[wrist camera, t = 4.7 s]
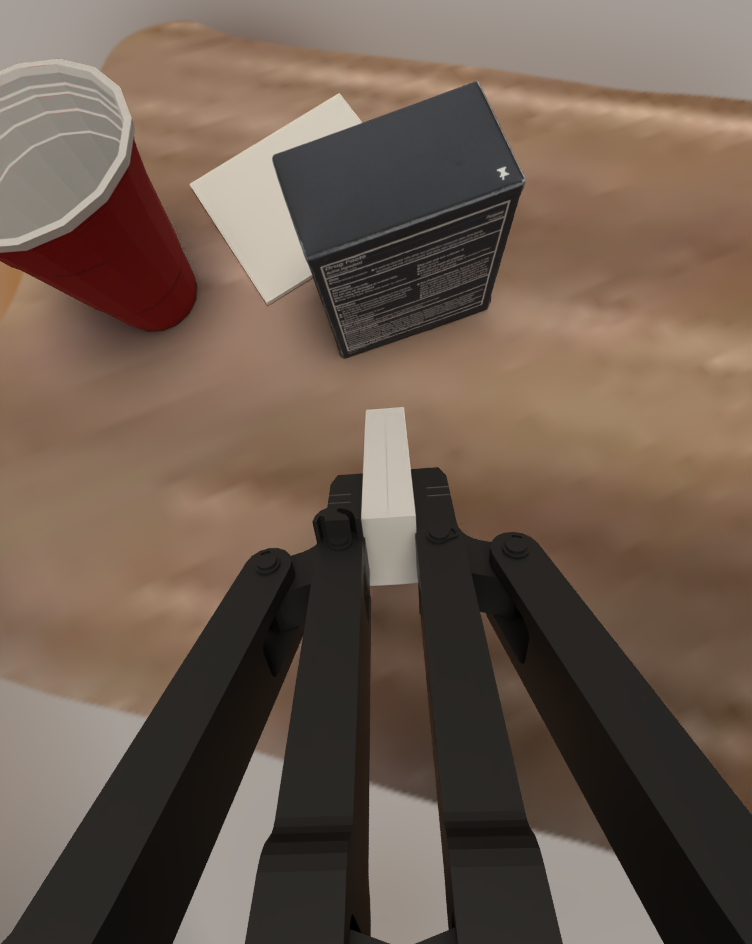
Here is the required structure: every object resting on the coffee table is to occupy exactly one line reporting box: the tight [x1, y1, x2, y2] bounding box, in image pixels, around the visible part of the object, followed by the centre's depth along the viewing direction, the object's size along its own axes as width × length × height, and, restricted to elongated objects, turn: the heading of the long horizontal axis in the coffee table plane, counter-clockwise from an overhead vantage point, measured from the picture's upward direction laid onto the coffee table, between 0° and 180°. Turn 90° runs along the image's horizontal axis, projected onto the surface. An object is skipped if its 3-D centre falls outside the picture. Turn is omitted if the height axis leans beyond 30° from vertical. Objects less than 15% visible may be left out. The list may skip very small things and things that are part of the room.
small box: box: [272, 81, 526, 358], centre depth 25 cm, size 11×6×10 cm, turn 109°
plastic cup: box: [0, 59, 197, 331], centre depth 26 cm, size 11×11×12 cm
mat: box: [190, 93, 362, 305], centre depth 32 cm, size 12×13×1 cm
